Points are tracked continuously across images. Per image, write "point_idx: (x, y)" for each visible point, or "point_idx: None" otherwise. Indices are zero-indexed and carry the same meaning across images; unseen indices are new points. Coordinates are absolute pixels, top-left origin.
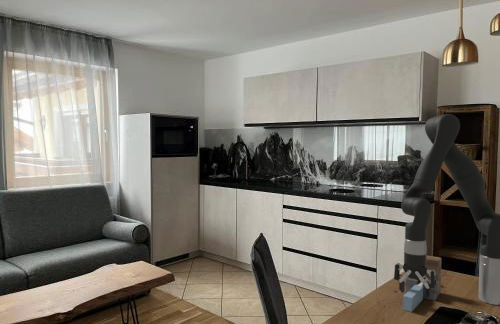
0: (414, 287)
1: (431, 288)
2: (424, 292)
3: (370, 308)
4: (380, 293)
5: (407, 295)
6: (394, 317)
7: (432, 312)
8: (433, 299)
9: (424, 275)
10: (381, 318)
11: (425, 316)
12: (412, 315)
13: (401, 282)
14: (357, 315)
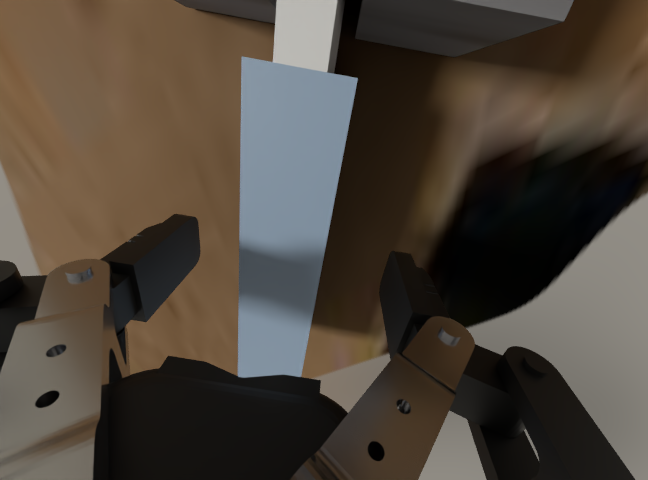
0: (262, 176)
1: (470, 29)
2: (367, 27)
3: (138, 350)
4: (32, 119)
5: (260, 375)
6: None
7: None
8: (447, 54)
9: (411, 475)
10: None
11: (376, 332)
12: (317, 344)
13: (123, 313)
14: None
